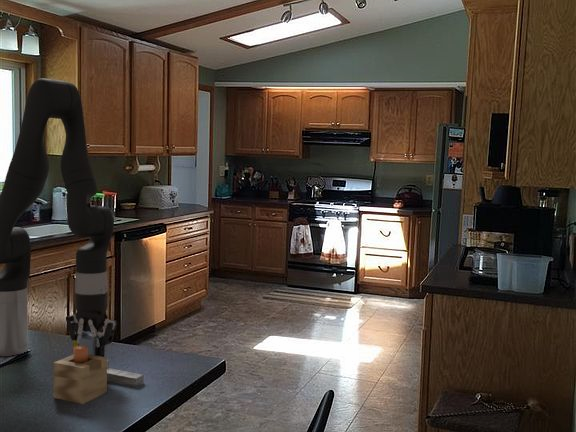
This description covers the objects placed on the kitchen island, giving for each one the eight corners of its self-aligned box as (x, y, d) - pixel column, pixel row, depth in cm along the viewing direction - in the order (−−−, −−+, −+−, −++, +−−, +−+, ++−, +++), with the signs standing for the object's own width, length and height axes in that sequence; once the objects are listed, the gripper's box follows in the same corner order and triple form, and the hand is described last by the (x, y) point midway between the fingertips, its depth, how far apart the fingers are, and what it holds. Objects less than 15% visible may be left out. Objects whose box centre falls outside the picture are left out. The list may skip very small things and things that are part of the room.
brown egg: (70, 361, 144) (70, 348, 144) (79, 358, 147) (79, 345, 147) (81, 363, 143) (81, 350, 143) (90, 359, 146) (90, 346, 145)
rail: (73, 374, 158) (73, 366, 158) (82, 371, 161) (82, 363, 161) (136, 387, 151) (136, 378, 151) (143, 382, 154) (143, 374, 154)
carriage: (73, 375, 157) (73, 338, 156) (88, 369, 162) (88, 332, 161) (93, 379, 154) (93, 342, 153) (108, 372, 160) (108, 336, 159)
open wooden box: (53, 397, 144) (53, 362, 143) (78, 386, 151) (78, 352, 150) (83, 404, 141) (83, 368, 140) (106, 391, 148) (106, 357, 147)
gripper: (56, 289, 155) (57, 359, 157) (105, 296, 150) (105, 368, 152) (78, 284, 162) (78, 351, 164) (125, 290, 157) (125, 359, 158)
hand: (91, 359), depth 158 cm, fingers closed on carriage, 4 cm apart
